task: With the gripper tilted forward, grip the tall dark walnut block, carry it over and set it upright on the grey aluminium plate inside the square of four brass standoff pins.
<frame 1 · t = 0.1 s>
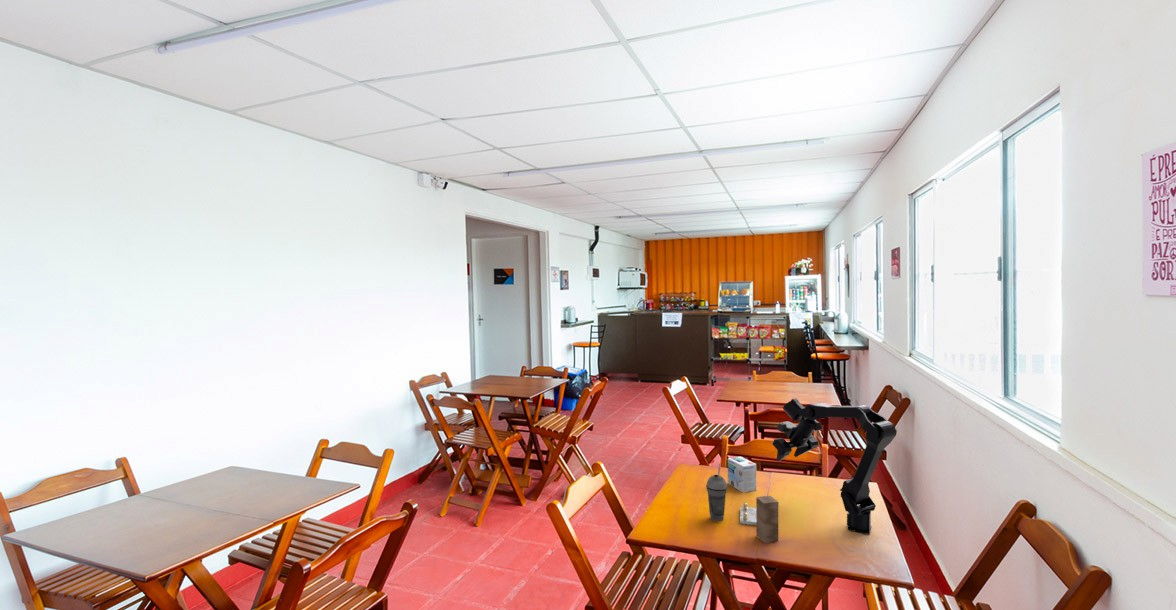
hand: (786, 458, 206), 15 cm above the table, tool tilted 35°, fingers open, 9 cm apart
light bulb box: (741, 487, 217), on the table
walnut block: (767, 538, 173), on the table
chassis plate: (757, 518, 188), on the table
beverage cup: (716, 519, 188), on the table
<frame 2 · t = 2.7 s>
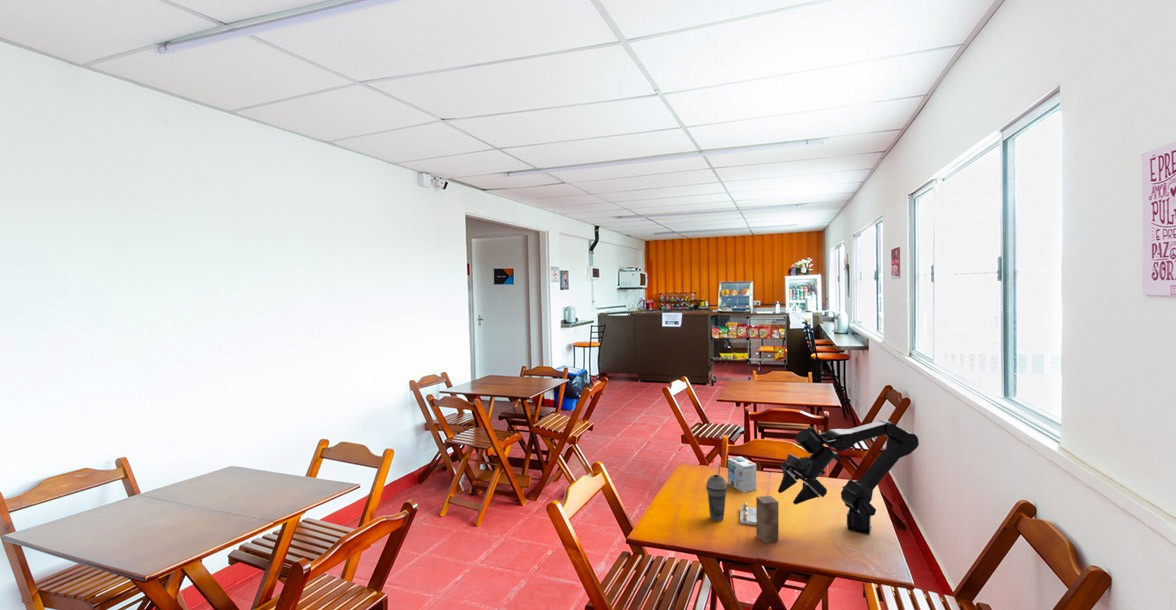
hand: (786, 497, 174), 13 cm above the table, tool tilted 45°, fingers open, 9 cm apart
nothing on the table moved.
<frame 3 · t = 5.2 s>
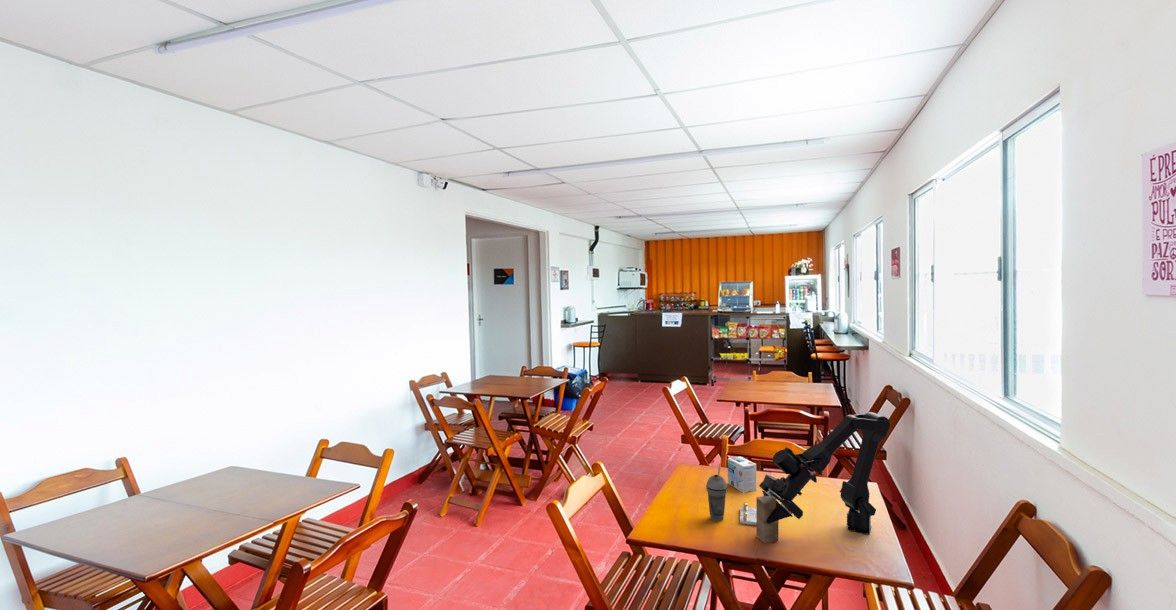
hand: (763, 518, 173), 7 cm above the table, tool tilted 45°, fingers closed on walnut block, 5 cm apart
walnut block: (767, 538, 173), on the table, touching gripper
everything else where it was.
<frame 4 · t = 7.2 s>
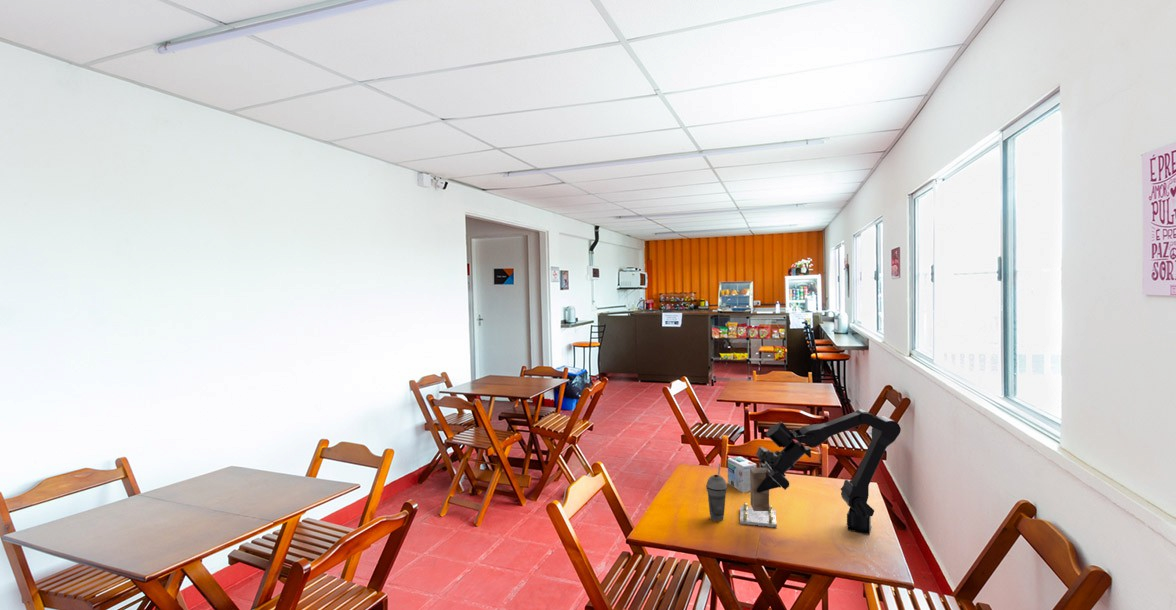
hand: (755, 488, 181), 13 cm above the table, tool tilted 45°, fingers closed on walnut block, 5 cm apart
walnut block: (759, 507, 181), point 7 cm above the table, touching gripper
everything else where it was.
when the fingers open (9 cm above the table, at t = 9.4 s): walnut block stays where it is, resting on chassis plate.
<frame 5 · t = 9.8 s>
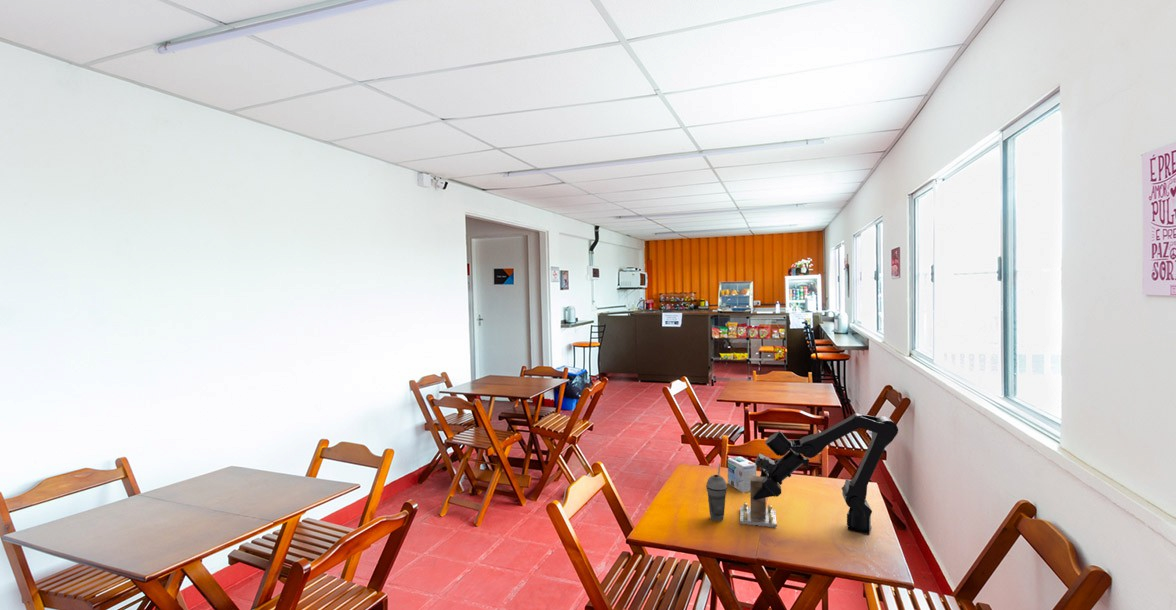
hand: (753, 493, 188), 9 cm above the table, tool tilted 45°, fingers open, 9 cm apart
walnut block: (758, 515, 188), point 1 cm above the table, touching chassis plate
everything else where it was.
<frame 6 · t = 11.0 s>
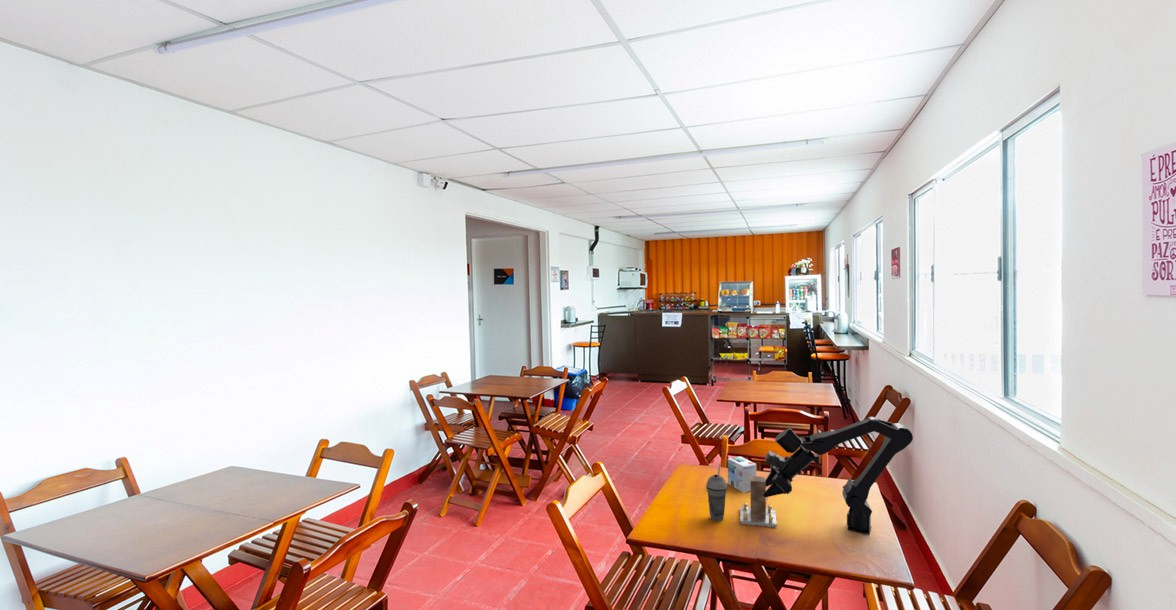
hand: (763, 491, 187), 10 cm above the table, tool tilted 45°, fingers open, 9 cm apart
nothing on the table moved.
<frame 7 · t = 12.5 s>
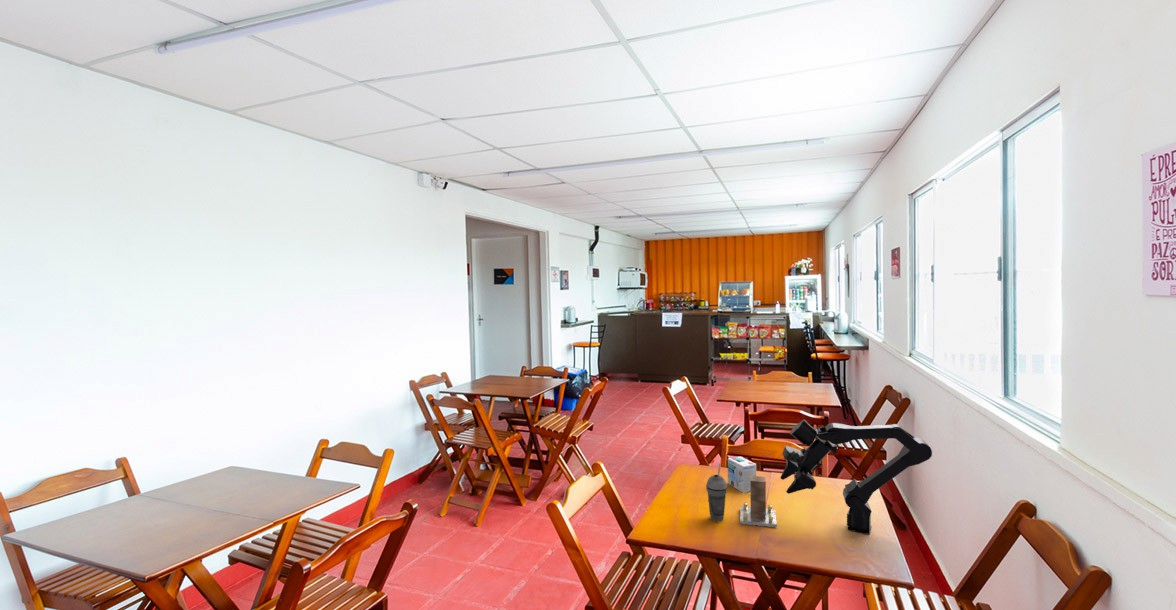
hand: (784, 485, 186), 12 cm above the table, tool tilted 40°, fingers open, 9 cm apart
nothing on the table moved.
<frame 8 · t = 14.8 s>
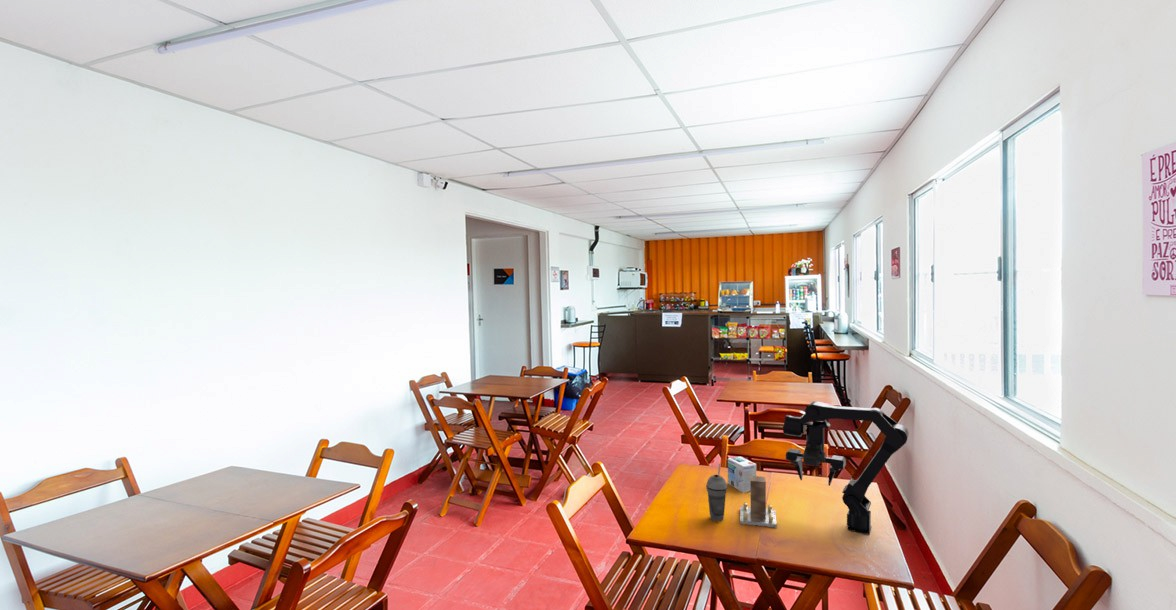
hand: (815, 482, 186), 13 cm above the table, tool pointing down, fingers open, 9 cm apart
nothing on the table moved.
at the end: walnut block 0.1 cm off-centre on the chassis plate, point 1.2 cm above the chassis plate's base; walnut block tilted 0°; the gripper is holding nothing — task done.
